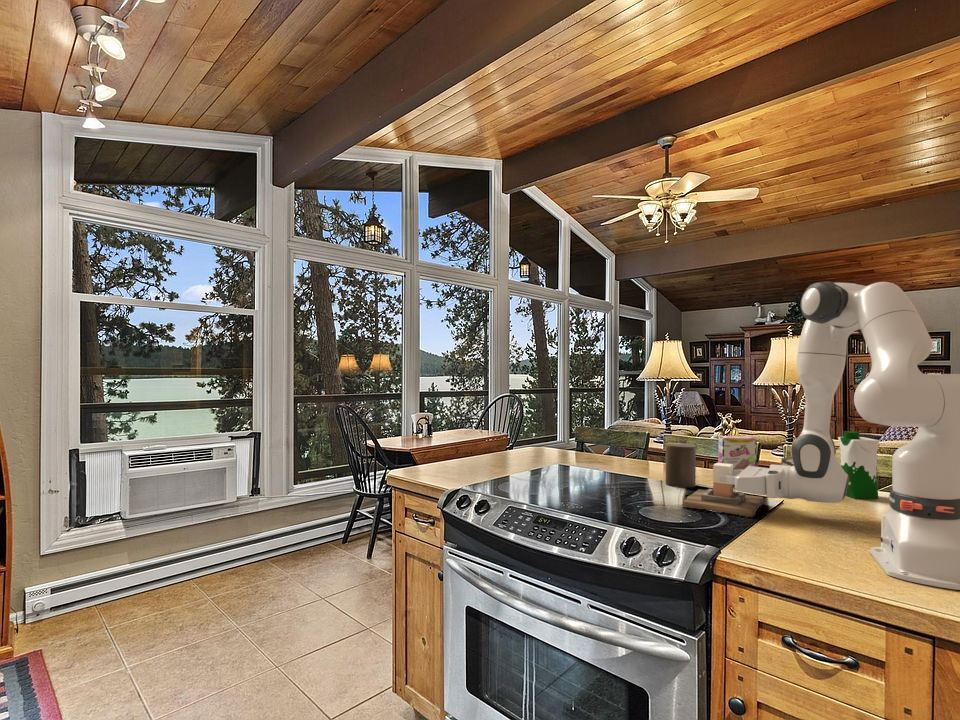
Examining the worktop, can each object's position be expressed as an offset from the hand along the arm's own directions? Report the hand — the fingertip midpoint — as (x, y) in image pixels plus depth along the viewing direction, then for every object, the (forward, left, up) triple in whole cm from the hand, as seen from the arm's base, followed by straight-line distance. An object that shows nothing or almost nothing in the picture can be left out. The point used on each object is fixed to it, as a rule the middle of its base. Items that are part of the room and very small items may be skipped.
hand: (723, 475), depth 157 cm
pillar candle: (+22, +18, -9) cm, 30 cm away
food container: (+32, -16, -9) cm, 37 cm away
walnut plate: (0, 0, -9) cm, 9 cm away
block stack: (0, 0, -7) cm, 7 cm away
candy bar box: (+32, +2, -9) cm, 34 cm away
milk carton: (+36, -32, -9) cm, 49 cm away
